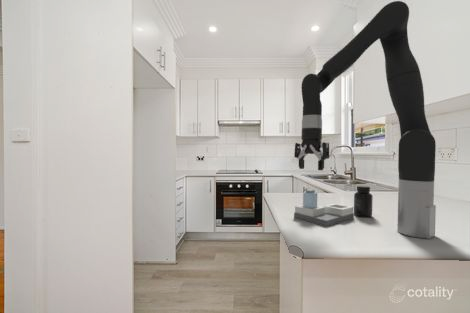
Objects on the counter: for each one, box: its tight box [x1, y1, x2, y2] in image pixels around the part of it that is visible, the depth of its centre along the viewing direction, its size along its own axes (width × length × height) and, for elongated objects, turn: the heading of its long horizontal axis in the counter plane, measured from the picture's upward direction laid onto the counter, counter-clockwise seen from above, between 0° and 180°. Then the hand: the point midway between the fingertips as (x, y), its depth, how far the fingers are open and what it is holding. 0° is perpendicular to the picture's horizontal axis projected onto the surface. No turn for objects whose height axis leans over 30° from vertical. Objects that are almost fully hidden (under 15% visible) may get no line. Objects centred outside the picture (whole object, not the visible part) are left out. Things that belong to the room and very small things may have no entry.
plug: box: [302, 189, 318, 209], centre depth 97 cm, size 4×4×9 cm
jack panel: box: [293, 203, 355, 227], centre depth 98 cm, size 14×19×4 cm
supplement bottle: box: [353, 185, 373, 218], centre depth 103 cm, size 7×7×12 cm
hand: (310, 169), depth 97 cm, fingers open, 8 cm apart
